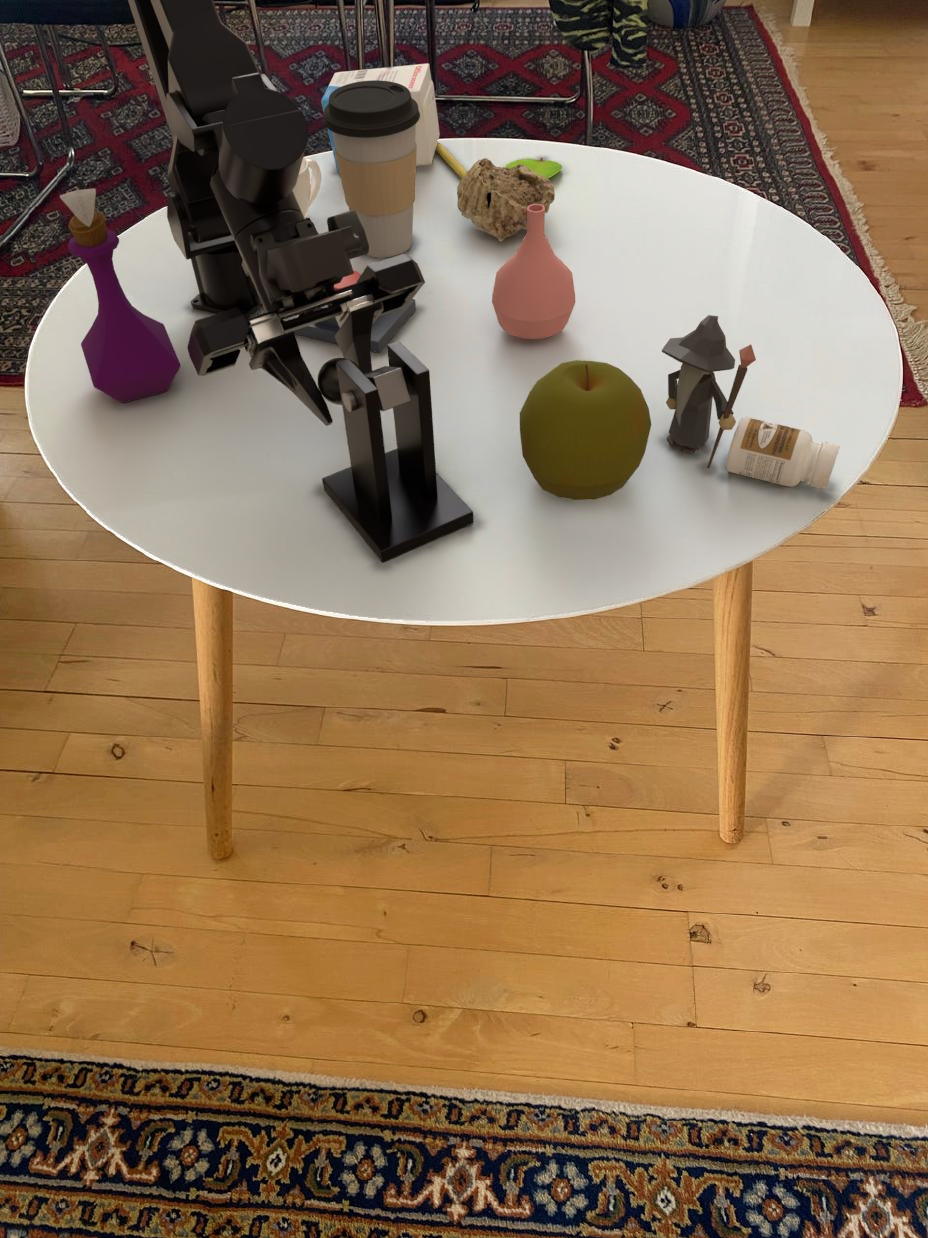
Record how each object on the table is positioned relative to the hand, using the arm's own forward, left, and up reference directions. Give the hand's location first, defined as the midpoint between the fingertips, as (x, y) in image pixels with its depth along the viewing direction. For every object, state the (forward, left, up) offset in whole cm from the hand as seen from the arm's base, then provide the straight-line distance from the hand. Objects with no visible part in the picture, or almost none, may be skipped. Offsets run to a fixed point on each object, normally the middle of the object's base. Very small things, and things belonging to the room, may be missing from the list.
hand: (350, 415), depth 78 cm
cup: (-26, +34, -5) cm, 43 cm away
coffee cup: (-14, +33, -5) cm, 36 cm away
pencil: (-15, +52, -3) cm, 55 cm away
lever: (+3, -2, +3) cm, 5 cm away
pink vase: (+7, +23, -5) cm, 24 cm away
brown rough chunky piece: (-4, +42, -4) cm, 42 cm away
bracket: (+6, -4, -4) cm, 8 cm away
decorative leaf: (-5, +55, -6) cm, 55 cm away
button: (-11, +19, -2) cm, 22 cm away
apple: (+18, +4, -5) cm, 19 cm away
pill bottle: (+28, +10, -2) cm, 30 cm away
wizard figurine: (+26, +12, -4) cm, 28 cm away
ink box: (-29, +50, 0) cm, 58 cm away
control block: (-11, +19, -4) cm, 22 cm away
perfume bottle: (-23, +2, -5) cm, 24 cm away
